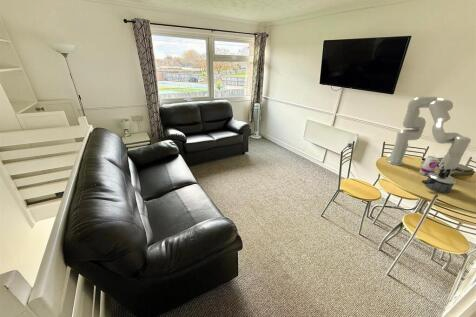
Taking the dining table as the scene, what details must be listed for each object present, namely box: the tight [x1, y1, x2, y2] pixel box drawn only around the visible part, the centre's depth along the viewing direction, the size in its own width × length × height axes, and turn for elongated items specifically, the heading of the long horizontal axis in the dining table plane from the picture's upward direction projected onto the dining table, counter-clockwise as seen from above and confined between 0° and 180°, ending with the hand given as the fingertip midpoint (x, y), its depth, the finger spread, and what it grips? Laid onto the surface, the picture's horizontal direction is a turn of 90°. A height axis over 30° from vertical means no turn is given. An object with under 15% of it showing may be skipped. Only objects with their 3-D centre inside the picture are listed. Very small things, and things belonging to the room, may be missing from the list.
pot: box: [421, 176, 455, 194], centre depth 152 cm, size 14×23×7 cm, turn 97°
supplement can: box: [419, 155, 440, 177], centre depth 168 cm, size 8×8×15 cm
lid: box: [429, 170, 457, 185], centre depth 148 cm, size 15×15×6 cm
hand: (442, 176), depth 149 cm, fingers closed on lid, 3 cm apart
